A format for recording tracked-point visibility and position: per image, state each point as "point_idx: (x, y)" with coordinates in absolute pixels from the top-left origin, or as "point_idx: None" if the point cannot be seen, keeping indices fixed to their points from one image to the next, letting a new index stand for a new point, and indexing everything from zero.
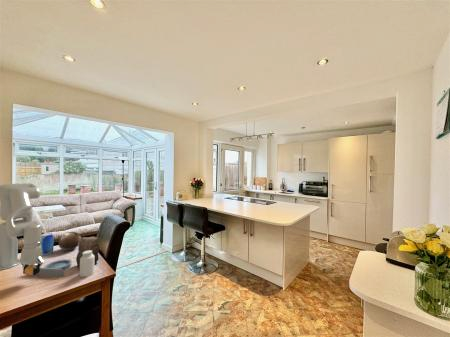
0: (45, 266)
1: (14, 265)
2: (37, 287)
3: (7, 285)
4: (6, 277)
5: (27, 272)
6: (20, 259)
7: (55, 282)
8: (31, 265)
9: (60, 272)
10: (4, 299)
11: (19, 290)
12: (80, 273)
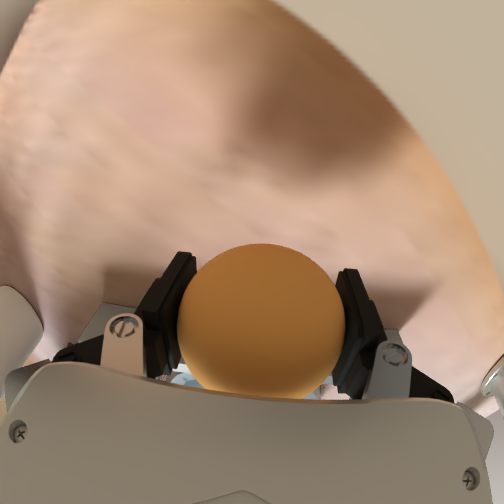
0: (312, 397)
1: (493, 371)
2: (116, 157)
3: (435, 186)
4: (492, 288)
5: (243, 254)
6: (484, 490)
7: (63, 233)
8: (241, 383)
9: (95, 324)
10: None
11: (238, 95)
12: (4, 300)
